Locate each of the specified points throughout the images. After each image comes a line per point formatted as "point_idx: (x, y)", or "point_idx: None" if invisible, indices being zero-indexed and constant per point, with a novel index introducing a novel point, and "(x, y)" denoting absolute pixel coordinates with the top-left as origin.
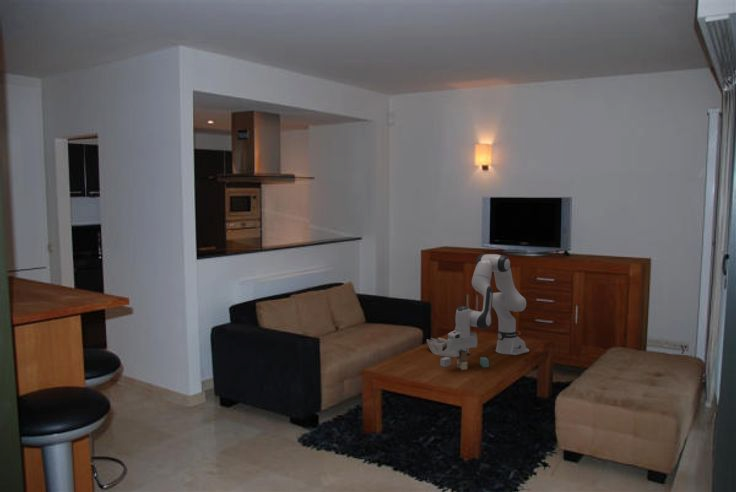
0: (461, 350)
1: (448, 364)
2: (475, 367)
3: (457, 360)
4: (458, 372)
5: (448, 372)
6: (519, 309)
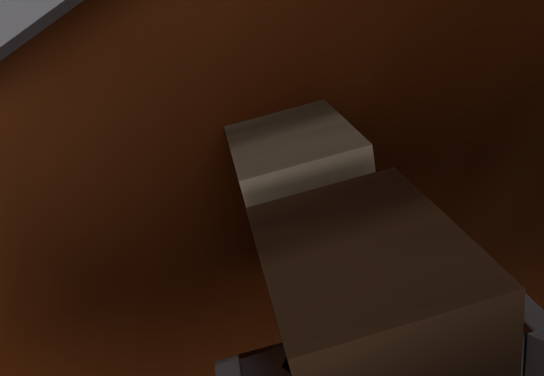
0: (463, 358)
1: (74, 6)
2: (496, 192)
3: (244, 200)
4: (162, 363)
5: (4, 356)
6: None
